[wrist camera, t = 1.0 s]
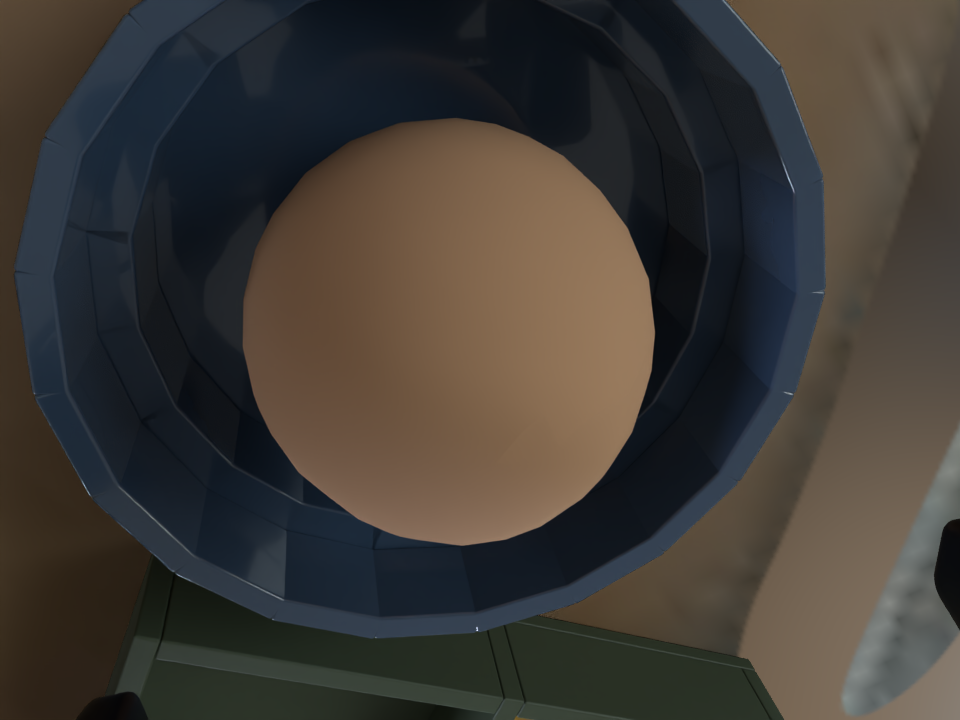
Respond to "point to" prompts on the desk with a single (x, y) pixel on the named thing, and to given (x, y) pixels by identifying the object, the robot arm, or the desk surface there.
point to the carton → (411, 669)
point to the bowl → (308, 141)
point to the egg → (448, 331)
